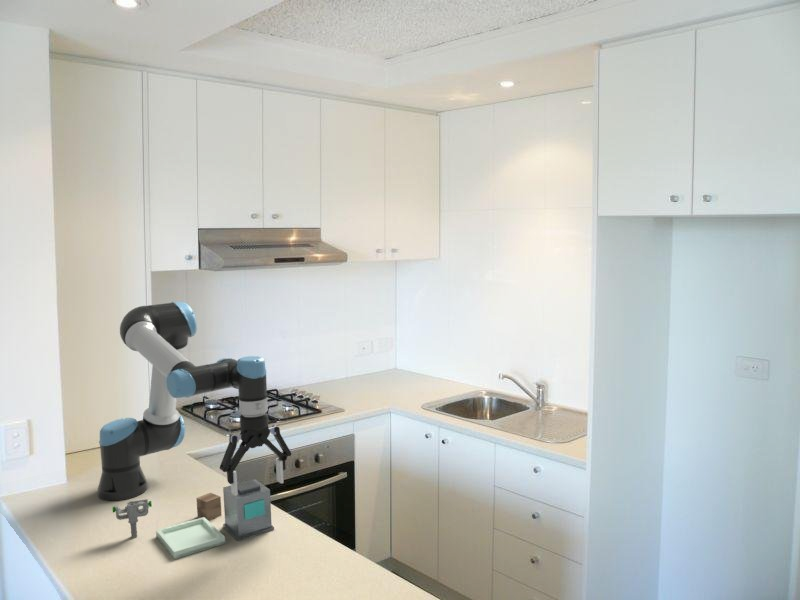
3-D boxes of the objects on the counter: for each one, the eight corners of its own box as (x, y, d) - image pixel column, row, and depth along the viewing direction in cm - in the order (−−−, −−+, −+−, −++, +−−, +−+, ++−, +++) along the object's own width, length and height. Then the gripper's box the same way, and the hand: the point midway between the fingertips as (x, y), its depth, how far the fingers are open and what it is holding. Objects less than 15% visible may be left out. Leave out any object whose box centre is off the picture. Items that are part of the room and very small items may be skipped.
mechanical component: (115, 537, 200) (112, 504, 199) (153, 531, 204) (151, 498, 202) (114, 542, 197) (112, 508, 196) (153, 535, 201) (151, 502, 200)
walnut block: (197, 516, 213) (196, 497, 212) (211, 511, 217) (210, 492, 216) (207, 521, 210) (206, 502, 209) (221, 515, 213) (220, 496, 213)
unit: (222, 526, 206) (220, 483, 204) (258, 516, 212) (255, 474, 210) (237, 540, 197) (235, 496, 195) (274, 529, 203) (272, 486, 201)
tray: (156, 536, 200) (156, 530, 200) (204, 523, 208) (204, 516, 208) (174, 559, 187) (174, 552, 187) (225, 543, 195) (224, 536, 195)
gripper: (214, 425, 183) (219, 503, 186) (301, 408, 197) (304, 480, 200) (204, 419, 189) (209, 494, 192) (288, 402, 203) (292, 473, 206)
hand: (257, 487), depth 196 cm, fingers open, 13 cm apart
